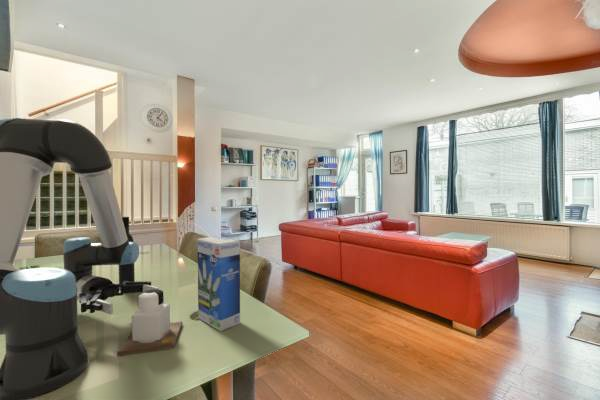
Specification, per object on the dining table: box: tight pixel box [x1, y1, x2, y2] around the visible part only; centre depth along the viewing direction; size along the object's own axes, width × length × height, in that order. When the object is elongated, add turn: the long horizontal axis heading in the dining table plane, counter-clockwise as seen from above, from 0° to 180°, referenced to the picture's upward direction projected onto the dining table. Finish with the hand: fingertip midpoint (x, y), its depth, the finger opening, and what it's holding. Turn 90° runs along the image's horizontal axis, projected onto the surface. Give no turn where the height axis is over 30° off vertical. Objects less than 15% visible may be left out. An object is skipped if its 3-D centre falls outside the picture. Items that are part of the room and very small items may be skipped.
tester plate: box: [116, 321, 183, 357], centre depth 77 cm, size 13×13×2 cm
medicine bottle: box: [131, 288, 171, 341], centre depth 76 cm, size 7×7×12 cm
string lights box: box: [196, 235, 241, 332], centre depth 87 cm, size 13×8×26 cm, turn 48°
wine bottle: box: [117, 216, 136, 284], centre depth 120 cm, size 6×6×30 cm
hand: (136, 299), depth 80 cm, fingers open, 13 cm apart
